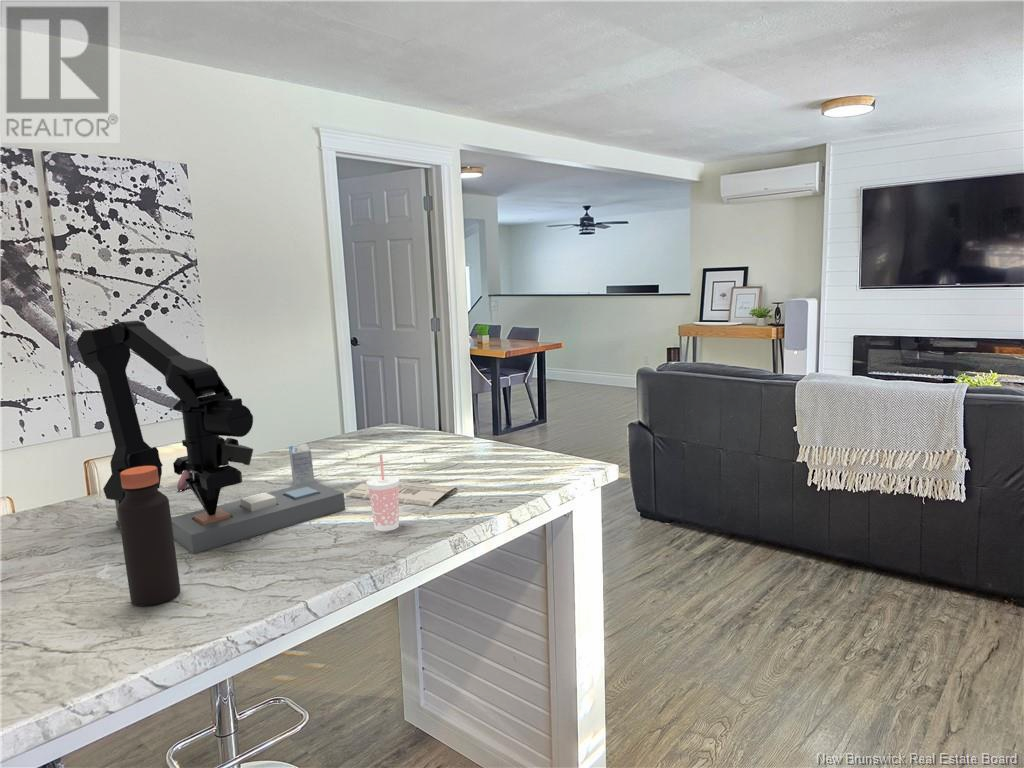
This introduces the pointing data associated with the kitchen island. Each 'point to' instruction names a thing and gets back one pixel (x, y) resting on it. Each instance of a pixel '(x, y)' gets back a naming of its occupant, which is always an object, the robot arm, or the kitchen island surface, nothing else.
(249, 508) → the offwhite key
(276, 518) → the key panel
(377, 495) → the beverage cup
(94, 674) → the kitchen island surface
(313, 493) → the slate blue key
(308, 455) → the medicine box
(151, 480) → the bottle
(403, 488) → the newspaper
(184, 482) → the video game controller
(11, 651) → the kitchen island surface
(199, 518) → the terracotta key
